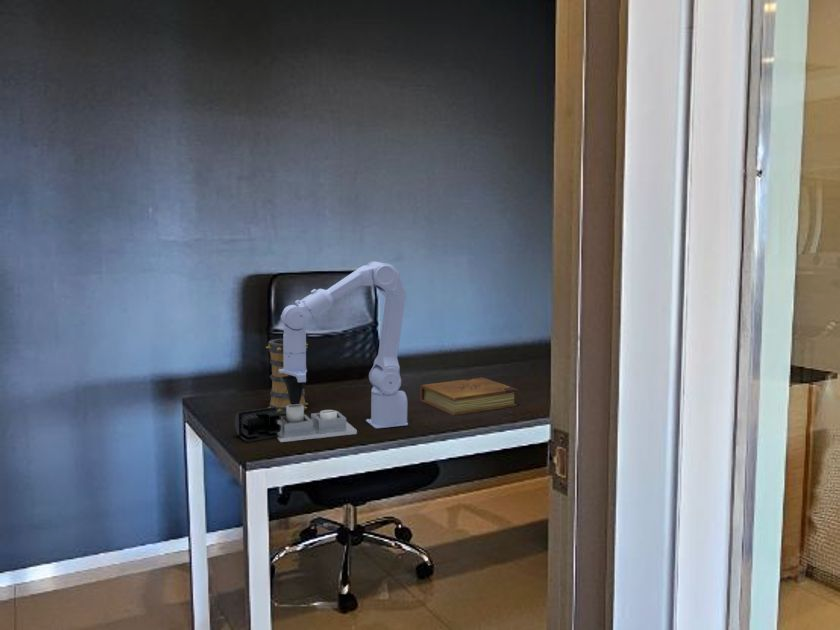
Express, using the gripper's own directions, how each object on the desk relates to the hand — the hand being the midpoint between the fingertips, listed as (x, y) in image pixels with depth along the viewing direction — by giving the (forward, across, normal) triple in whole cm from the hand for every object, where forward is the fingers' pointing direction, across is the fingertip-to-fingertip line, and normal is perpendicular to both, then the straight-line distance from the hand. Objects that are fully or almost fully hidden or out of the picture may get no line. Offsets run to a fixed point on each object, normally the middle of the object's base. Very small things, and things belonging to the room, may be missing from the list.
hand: (294, 403), depth 191 cm
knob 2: (+7, 0, +9) cm, 12 cm away
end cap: (+8, 0, -9) cm, 12 cm away
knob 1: (+5, 0, 0) cm, 5 cm away
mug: (+8, -25, +4) cm, 26 cm away
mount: (+8, 0, +4) cm, 9 cm away
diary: (+8, -11, +56) cm, 58 cm away
